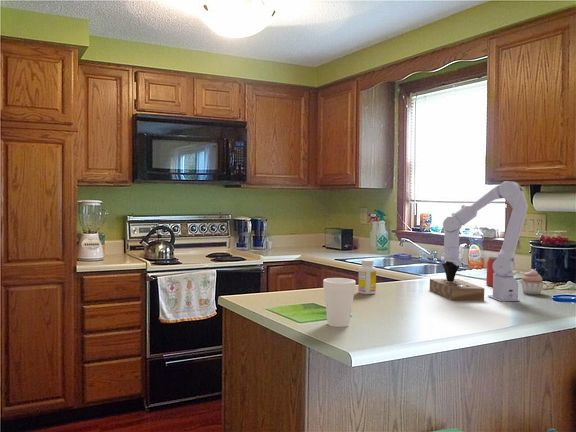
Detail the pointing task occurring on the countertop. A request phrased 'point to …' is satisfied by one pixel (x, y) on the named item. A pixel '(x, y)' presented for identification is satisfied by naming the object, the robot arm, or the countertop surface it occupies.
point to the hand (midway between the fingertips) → (450, 281)
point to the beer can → (490, 271)
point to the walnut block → (457, 290)
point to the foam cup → (339, 300)
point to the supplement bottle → (367, 277)
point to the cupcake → (532, 283)
